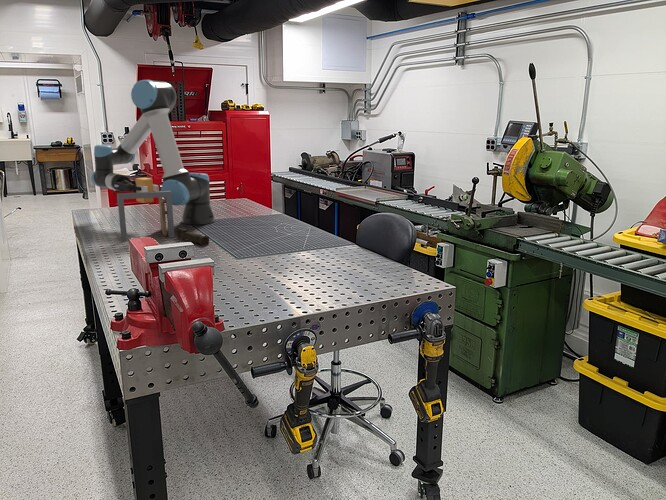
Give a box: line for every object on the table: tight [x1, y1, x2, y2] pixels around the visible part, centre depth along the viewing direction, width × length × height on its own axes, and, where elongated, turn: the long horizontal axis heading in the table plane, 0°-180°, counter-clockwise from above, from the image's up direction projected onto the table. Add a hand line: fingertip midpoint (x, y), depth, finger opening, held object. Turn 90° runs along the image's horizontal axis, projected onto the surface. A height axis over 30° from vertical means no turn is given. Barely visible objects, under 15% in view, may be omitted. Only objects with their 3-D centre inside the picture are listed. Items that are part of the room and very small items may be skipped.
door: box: [158, 197, 168, 236], centre depth 214 cm, size 14×3×14 cm, turn 23°
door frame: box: [116, 190, 175, 242], centre depth 203 cm, size 20×2×19 cm, turn 119°
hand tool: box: [176, 227, 210, 247], centre depth 202 cm, size 19×4×5 cm, turn 48°
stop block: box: [135, 177, 155, 204], centre depth 218 cm, size 5×5×10 cm
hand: (152, 189), depth 215 cm, fingers closed on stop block, 5 cm apart
